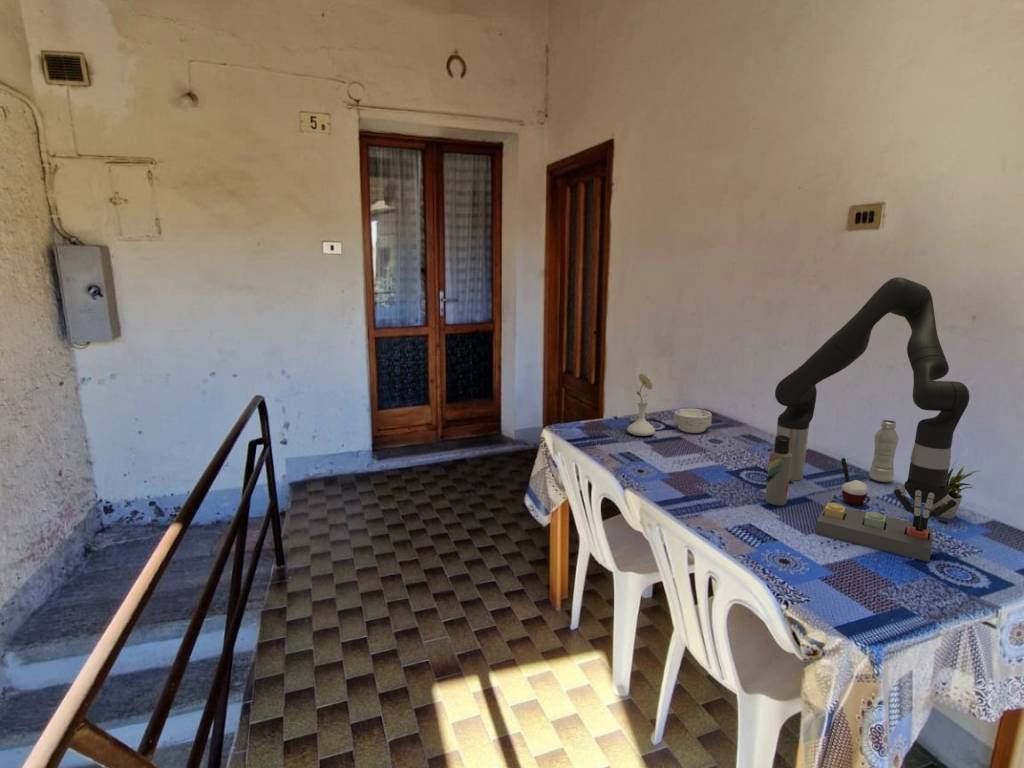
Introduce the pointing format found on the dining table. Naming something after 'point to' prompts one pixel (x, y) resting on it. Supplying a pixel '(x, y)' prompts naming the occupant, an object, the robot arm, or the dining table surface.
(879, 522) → the sage button
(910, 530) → the red button
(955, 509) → the house plant
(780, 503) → the lotion bottle
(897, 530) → the panel
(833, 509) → the ochre button
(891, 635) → the dining table surface
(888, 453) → the plastic bottle
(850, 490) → the cocoa
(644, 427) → the flower in vase
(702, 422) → the paper bowls
